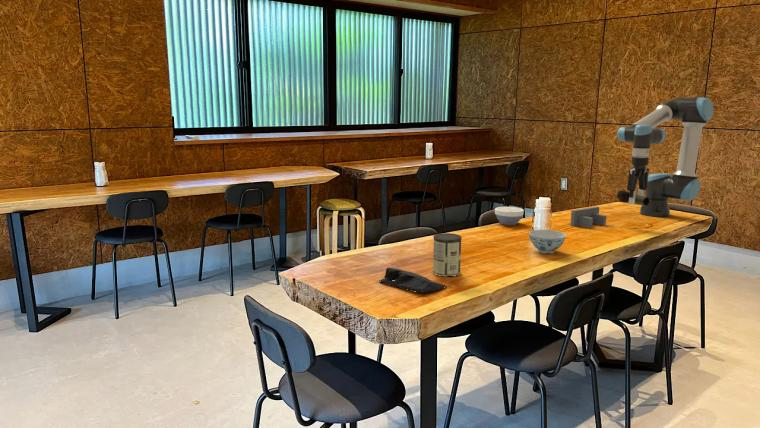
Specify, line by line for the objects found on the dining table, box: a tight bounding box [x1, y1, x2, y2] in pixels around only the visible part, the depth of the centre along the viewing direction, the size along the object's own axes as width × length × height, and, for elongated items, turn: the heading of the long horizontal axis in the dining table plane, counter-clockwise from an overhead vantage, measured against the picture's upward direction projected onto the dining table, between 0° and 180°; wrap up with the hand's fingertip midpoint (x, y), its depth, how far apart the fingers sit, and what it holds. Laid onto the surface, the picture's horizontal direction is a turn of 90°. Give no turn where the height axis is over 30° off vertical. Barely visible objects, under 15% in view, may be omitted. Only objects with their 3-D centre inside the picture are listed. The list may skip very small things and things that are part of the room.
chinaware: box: [528, 229, 567, 254], centre depth 234 cm, size 15×15×8 cm
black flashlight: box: [615, 189, 650, 206], centre depth 275 cm, size 18×7×6 cm, turn 24°
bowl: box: [494, 206, 525, 226], centre depth 285 cm, size 14×14×8 cm
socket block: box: [570, 206, 607, 229], centre depth 283 cm, size 20×9×8 cm, turn 123°
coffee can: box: [432, 232, 463, 277], centre depth 204 cm, size 10×10×14 cm
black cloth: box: [378, 267, 447, 294], centre depth 192 cm, size 15×22×5 cm
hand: (635, 203), depth 273 cm, fingers closed on black flashlight, 6 cm apart
